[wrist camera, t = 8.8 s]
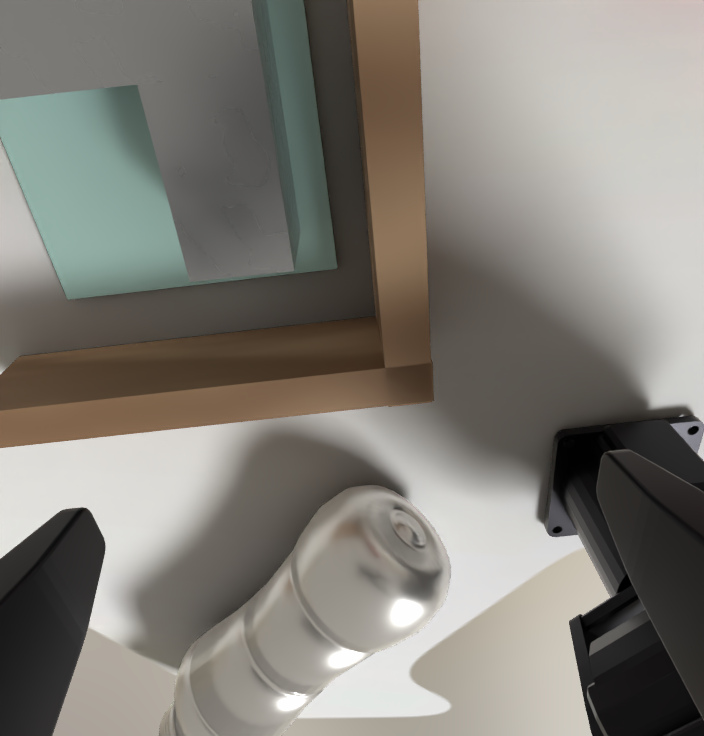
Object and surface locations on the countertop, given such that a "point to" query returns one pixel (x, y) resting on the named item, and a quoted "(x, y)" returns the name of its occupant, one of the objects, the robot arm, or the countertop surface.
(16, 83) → the bracket
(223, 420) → the wooden corner wall
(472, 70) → the countertop surface
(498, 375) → the countertop surface
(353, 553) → the plastic bottle
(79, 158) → the pad
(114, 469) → the countertop surface
